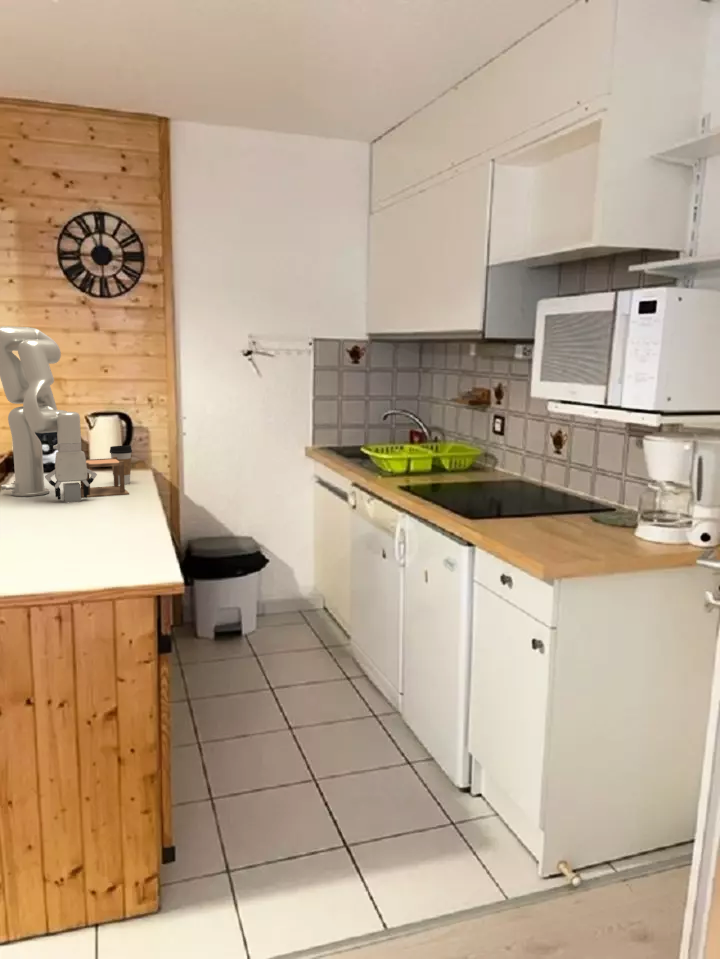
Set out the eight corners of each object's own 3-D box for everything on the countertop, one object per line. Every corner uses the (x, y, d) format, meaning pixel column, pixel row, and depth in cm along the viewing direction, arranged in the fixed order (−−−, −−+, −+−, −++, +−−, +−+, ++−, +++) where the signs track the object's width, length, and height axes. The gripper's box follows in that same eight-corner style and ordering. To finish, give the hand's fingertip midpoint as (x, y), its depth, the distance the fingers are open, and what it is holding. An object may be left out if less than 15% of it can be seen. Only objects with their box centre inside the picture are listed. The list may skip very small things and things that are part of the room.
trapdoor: (68, 473, 265) (68, 464, 264) (65, 469, 273) (64, 460, 273) (120, 470, 273) (120, 461, 272) (116, 466, 281) (115, 458, 281)
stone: (65, 502, 256) (64, 485, 255) (63, 500, 260) (63, 483, 259) (81, 501, 258) (80, 484, 257) (79, 499, 262) (78, 482, 261)
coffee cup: (129, 485, 291) (127, 447, 289) (107, 485, 291) (106, 446, 289) (136, 481, 299) (134, 444, 297) (115, 481, 299) (113, 444, 297)
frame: (76, 498, 264) (75, 464, 262) (71, 490, 279) (69, 458, 277) (129, 494, 272) (128, 461, 270) (120, 487, 287) (119, 456, 285)
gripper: (43, 450, 249) (46, 502, 251) (98, 448, 257) (100, 498, 259) (41, 447, 255) (44, 498, 258) (94, 445, 263) (97, 494, 266)
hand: (72, 497), depth 259 cm, fingers open, 8 cm apart
